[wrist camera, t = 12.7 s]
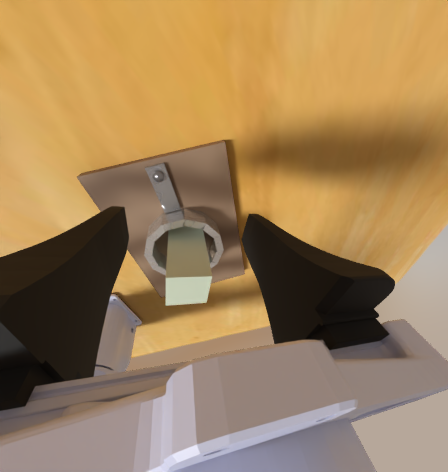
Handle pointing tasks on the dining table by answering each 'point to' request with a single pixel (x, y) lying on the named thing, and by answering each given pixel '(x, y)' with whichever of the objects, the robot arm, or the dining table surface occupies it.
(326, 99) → the dining table surface
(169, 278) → the sage peg
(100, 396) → the robot arm
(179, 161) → the cup bracket
